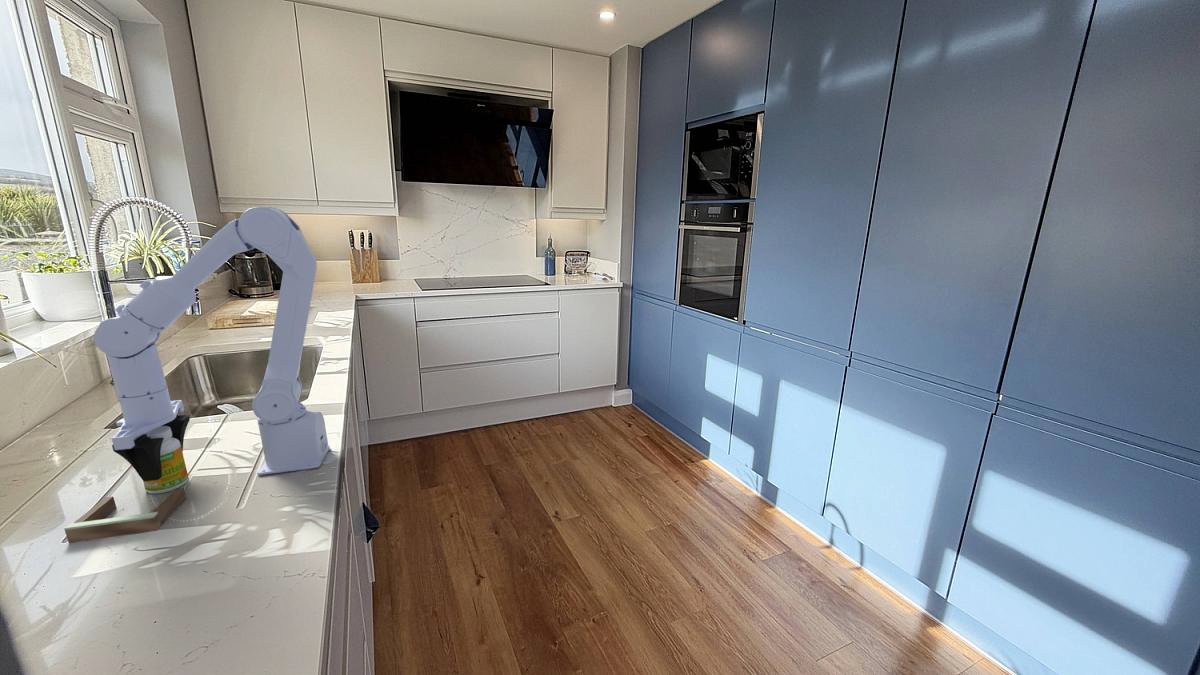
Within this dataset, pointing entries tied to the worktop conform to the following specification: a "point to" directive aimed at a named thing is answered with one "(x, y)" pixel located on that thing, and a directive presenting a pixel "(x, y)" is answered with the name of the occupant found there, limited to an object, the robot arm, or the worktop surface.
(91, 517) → the dock
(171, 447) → the supplement bottle
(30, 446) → the worktop surface
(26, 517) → the worktop surface
